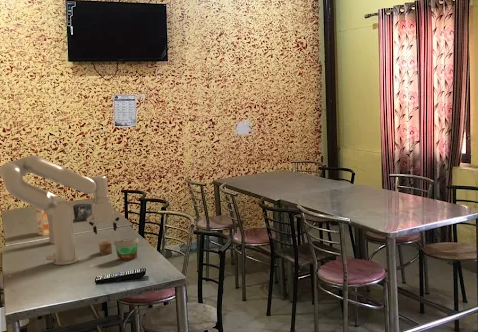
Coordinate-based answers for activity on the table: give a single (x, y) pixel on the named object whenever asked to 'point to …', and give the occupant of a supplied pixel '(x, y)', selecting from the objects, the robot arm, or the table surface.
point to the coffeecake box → (42, 222)
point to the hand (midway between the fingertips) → (105, 231)
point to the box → (82, 211)
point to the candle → (50, 228)
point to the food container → (126, 249)
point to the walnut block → (105, 247)
